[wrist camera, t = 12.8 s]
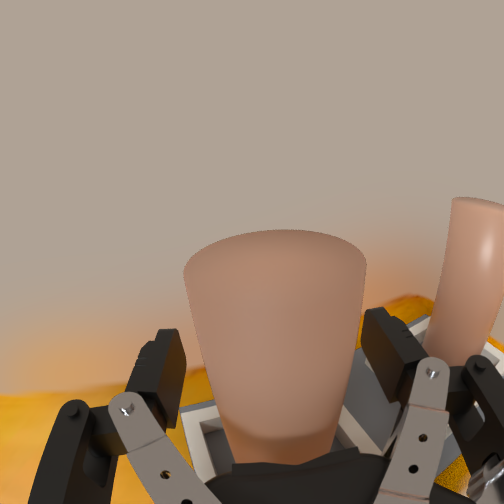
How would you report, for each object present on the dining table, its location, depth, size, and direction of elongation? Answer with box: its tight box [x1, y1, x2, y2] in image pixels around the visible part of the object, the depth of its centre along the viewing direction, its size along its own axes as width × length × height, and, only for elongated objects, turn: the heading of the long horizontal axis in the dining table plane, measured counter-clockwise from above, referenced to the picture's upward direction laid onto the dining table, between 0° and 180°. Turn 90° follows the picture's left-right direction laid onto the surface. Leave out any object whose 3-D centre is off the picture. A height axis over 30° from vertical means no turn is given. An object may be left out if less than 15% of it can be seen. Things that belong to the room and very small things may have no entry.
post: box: [184, 230, 367, 465], centre depth 10 cm, size 5×5×13 cm
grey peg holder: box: [179, 197, 504, 483], centre depth 13 cm, size 24×13×14 cm, turn 109°
